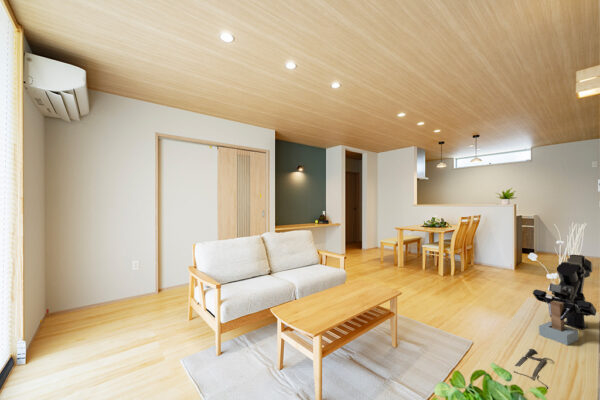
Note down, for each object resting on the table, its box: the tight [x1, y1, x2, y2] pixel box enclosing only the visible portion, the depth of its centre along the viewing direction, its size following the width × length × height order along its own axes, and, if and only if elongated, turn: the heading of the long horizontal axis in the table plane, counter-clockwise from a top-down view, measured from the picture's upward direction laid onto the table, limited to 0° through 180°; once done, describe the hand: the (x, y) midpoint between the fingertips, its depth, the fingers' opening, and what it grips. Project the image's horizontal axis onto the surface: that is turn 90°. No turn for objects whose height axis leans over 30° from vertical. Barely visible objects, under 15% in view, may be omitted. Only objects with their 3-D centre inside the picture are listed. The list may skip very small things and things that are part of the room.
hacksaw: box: [512, 348, 554, 390], centre depth 89 cm, size 24×10×2 cm, turn 122°
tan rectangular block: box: [550, 301, 566, 332], centre depth 108 cm, size 3×3×13 cm
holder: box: [538, 321, 579, 346], centre depth 108 cm, size 9×9×4 cm
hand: (555, 318), depth 107 cm, fingers closed on tan rectangular block, 3 cm apart
